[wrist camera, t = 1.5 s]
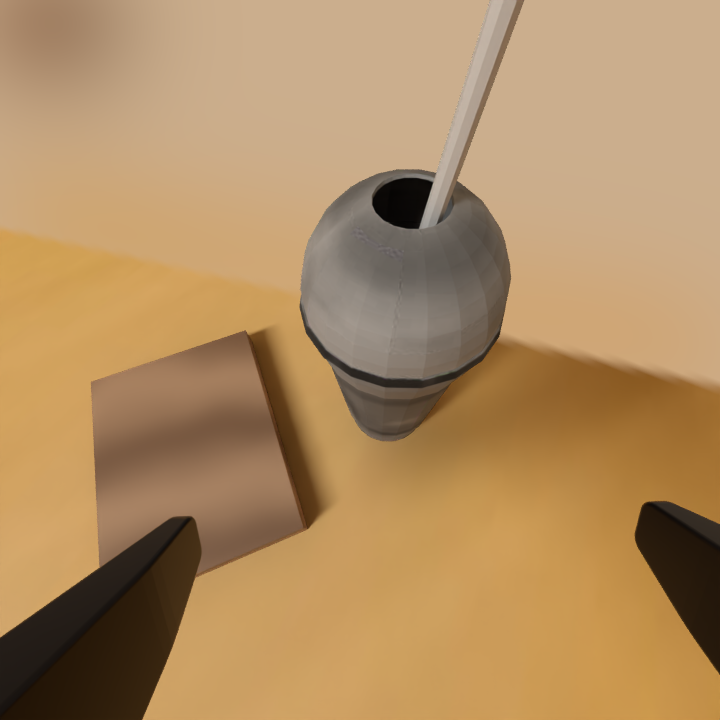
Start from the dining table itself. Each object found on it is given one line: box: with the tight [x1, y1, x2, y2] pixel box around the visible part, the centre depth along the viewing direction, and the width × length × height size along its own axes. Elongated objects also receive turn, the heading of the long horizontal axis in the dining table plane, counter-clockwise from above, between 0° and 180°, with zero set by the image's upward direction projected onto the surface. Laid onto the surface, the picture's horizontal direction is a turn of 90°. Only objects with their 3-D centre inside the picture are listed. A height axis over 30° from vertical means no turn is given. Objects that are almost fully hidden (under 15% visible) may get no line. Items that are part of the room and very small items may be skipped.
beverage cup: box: [300, 0, 524, 441], centre depth 14 cm, size 7×7×20 cm
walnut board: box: [91, 330, 308, 578], centre depth 21 cm, size 13×10×2 cm
